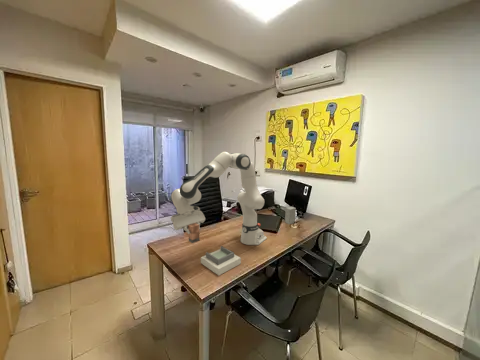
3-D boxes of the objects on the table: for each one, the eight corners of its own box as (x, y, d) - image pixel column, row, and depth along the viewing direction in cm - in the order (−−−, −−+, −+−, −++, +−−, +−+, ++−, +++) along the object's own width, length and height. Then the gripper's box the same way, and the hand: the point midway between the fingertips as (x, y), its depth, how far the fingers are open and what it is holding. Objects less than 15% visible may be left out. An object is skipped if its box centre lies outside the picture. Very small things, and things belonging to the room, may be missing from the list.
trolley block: (195, 238, 126) (195, 223, 124) (199, 240, 123) (199, 224, 121) (188, 241, 122) (188, 225, 121) (192, 243, 119) (191, 227, 118)
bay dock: (222, 253, 142) (222, 243, 141) (240, 263, 130) (240, 253, 129) (200, 263, 130) (200, 252, 129) (218, 275, 117) (218, 264, 116)
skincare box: (290, 221, 209) (291, 206, 207) (295, 223, 203) (296, 207, 200) (284, 222, 205) (285, 207, 203) (289, 224, 199) (289, 209, 196)
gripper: (171, 213, 117) (180, 234, 112) (201, 206, 132) (210, 224, 126) (168, 218, 121) (176, 239, 116) (197, 211, 135) (206, 229, 130)
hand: (194, 231), depth 121 cm, fingers closed on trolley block, 5 cm apart
